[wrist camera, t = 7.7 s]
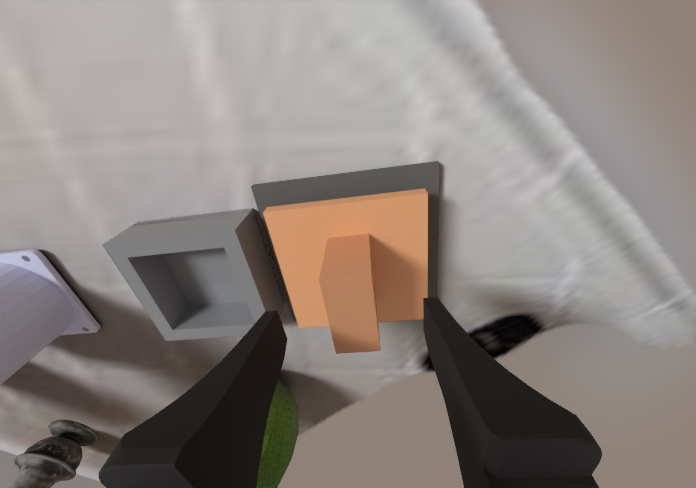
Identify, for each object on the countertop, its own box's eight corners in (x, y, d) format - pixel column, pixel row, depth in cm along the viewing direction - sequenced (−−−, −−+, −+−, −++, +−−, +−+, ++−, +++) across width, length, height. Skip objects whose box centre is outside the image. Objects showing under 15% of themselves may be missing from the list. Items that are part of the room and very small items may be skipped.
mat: (294, 316, 22) (293, 320, 22) (253, 184, 17) (250, 186, 17) (434, 306, 21) (436, 309, 21) (437, 161, 16) (439, 163, 16)
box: (188, 311, 23) (165, 341, 20) (137, 222, 19) (102, 244, 16) (284, 303, 22) (273, 333, 19) (252, 208, 18) (234, 229, 15)
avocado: (233, 343, 24) (139, 538, 14) (317, 370, 26) (289, 564, 15) (215, 392, 28) (131, 574, 18) (289, 413, 29) (252, 593, 19)
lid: (303, 310, 22) (286, 379, 17) (271, 200, 17) (235, 250, 12) (422, 300, 21) (442, 371, 16) (421, 182, 16) (448, 227, 11)
